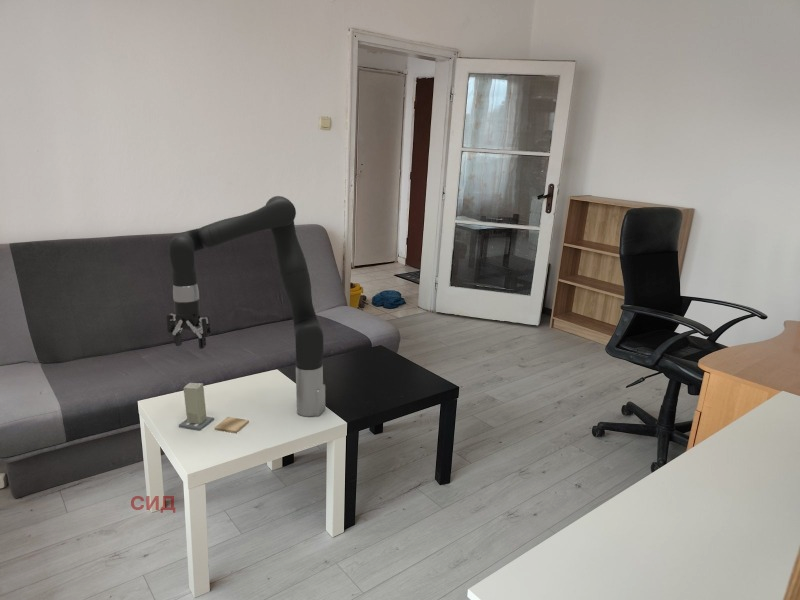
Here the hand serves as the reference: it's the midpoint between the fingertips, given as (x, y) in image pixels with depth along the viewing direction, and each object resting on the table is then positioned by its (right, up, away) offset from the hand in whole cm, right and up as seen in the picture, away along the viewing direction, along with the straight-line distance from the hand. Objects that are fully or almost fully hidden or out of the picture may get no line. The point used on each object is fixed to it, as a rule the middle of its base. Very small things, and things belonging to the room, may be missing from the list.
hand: (190, 346), depth 179 cm
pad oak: (+11, -27, +6) cm, 30 cm away
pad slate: (-1, -26, +7) cm, 27 cm away
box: (-1, -25, +7) cm, 26 cm away
